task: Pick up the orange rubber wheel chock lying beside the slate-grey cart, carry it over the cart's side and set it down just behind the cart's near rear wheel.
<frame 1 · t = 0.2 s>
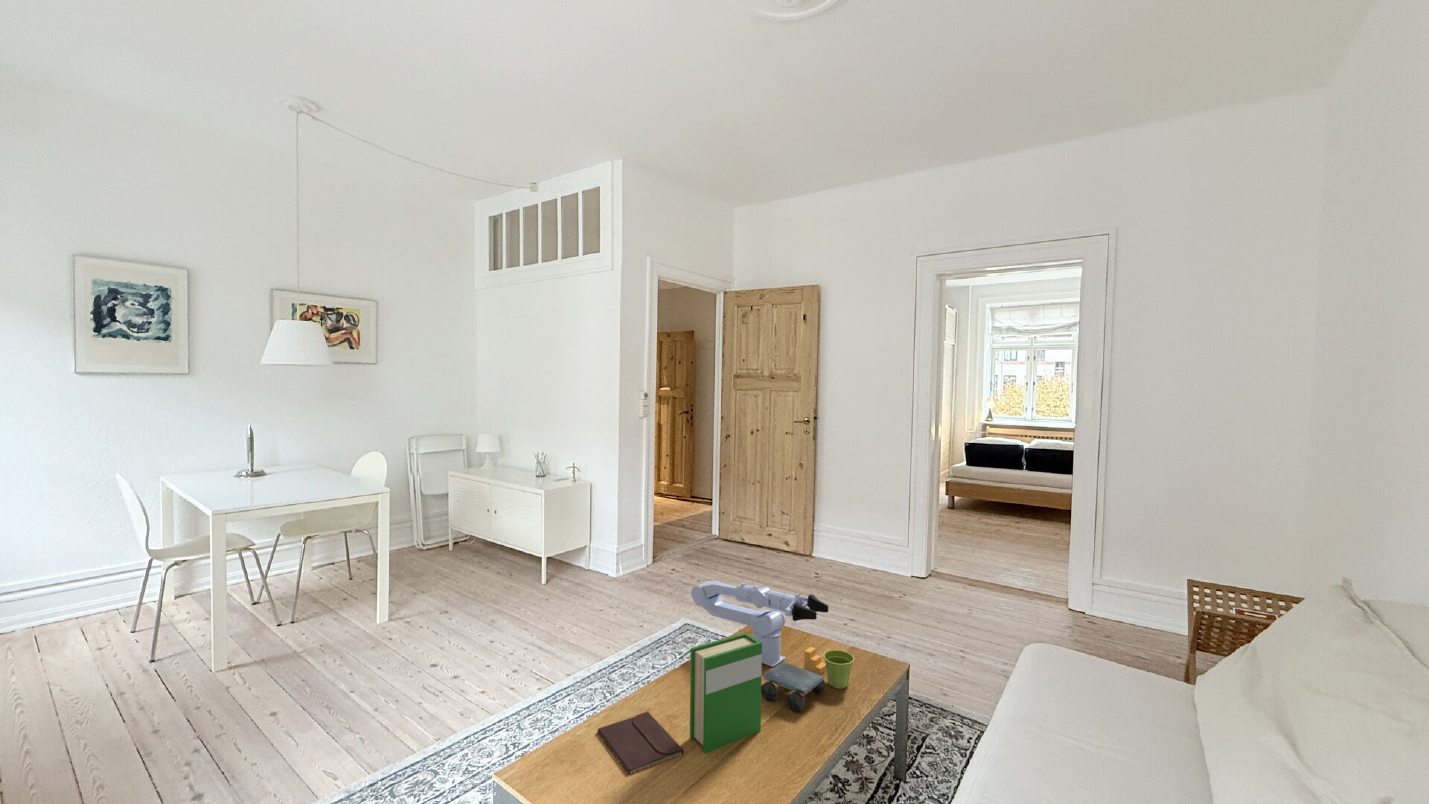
hand: (822, 612, 186), 21 cm above the table, tool horizontal, fingers open, 7 cm apart
notebook: (639, 745, 153), on the table
plant pot: (838, 684, 184), on the table
hardback book: (725, 735, 157), on the table
wheel chock: (815, 669, 193), on the table
trolley: (793, 696, 176), on the table
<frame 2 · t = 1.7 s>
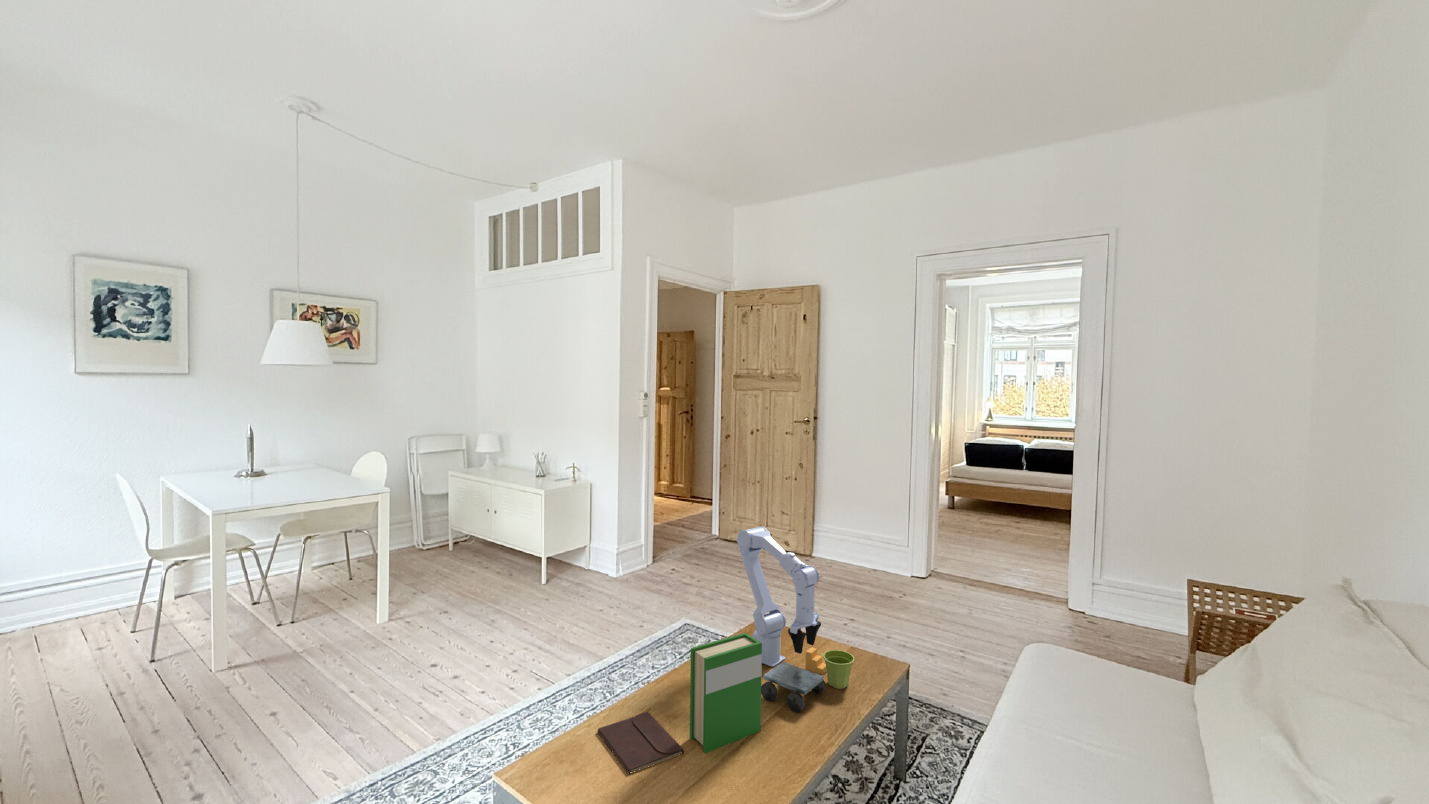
hand: (804, 648, 187), 9 cm above the table, tool pointing down, fingers open, 7 cm apart
nothing on the table moved.
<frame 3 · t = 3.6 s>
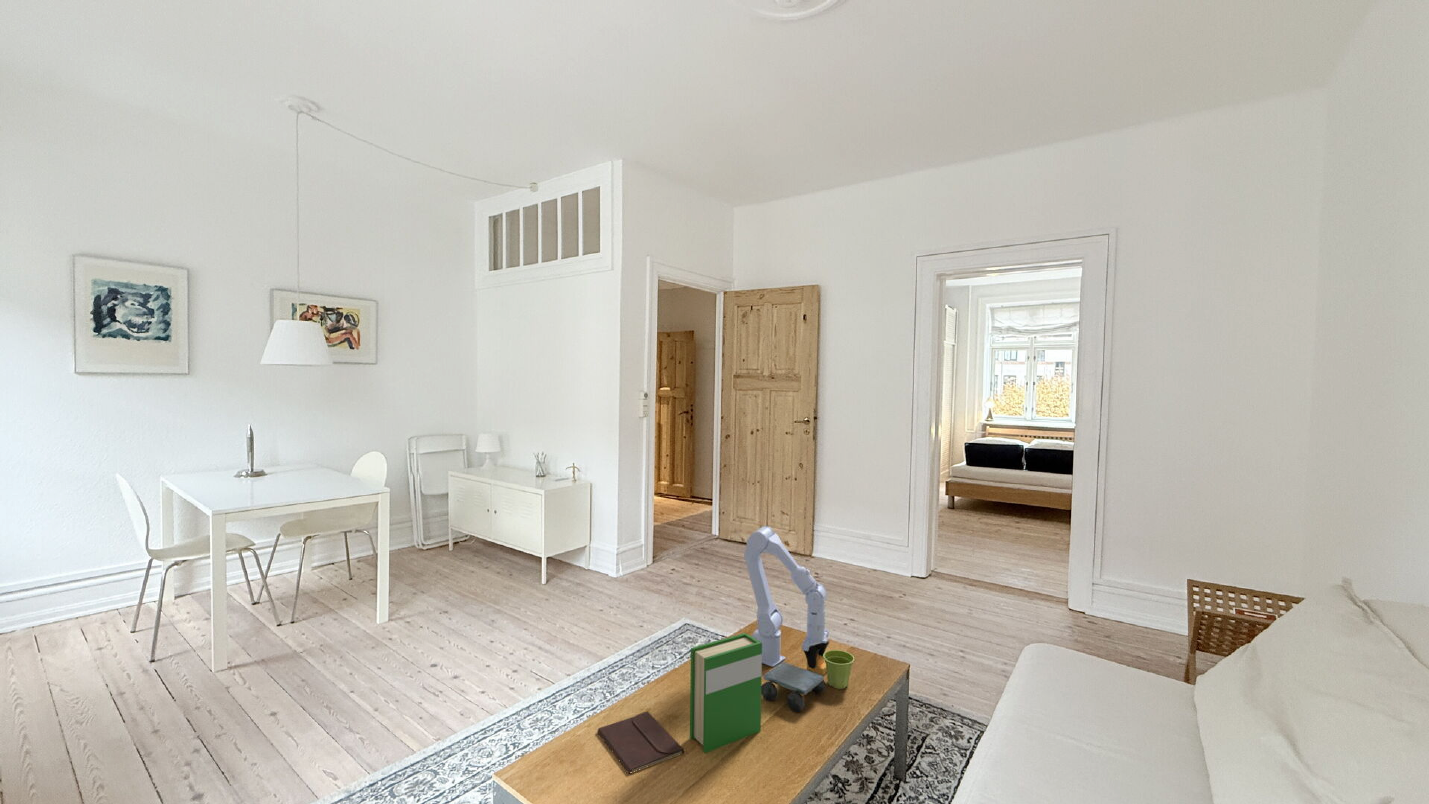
hand: (815, 664, 193), 1 cm above the table, tool pointing down, fingers closed on wheel chock, 4 cm apart
wheel chock: (817, 670, 192), on the table, touching gripper
everything else where it was.
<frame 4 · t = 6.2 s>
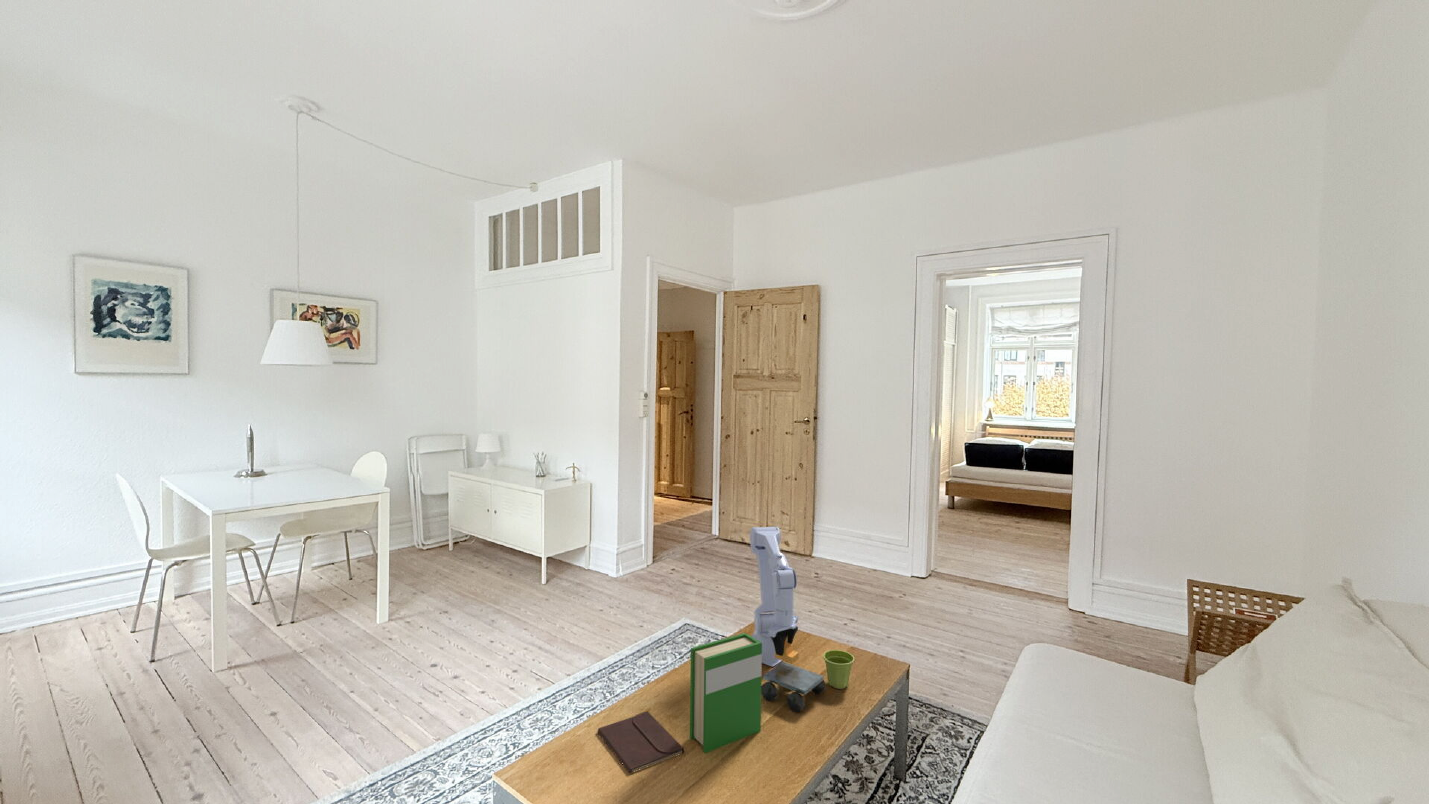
hand: (783, 652, 183), 10 cm above the table, tool pointing down, fingers closed on wheel chock, 4 cm apart
wheel chock: (786, 658, 182), point 8 cm above the table, touching gripper
everything else where it was.
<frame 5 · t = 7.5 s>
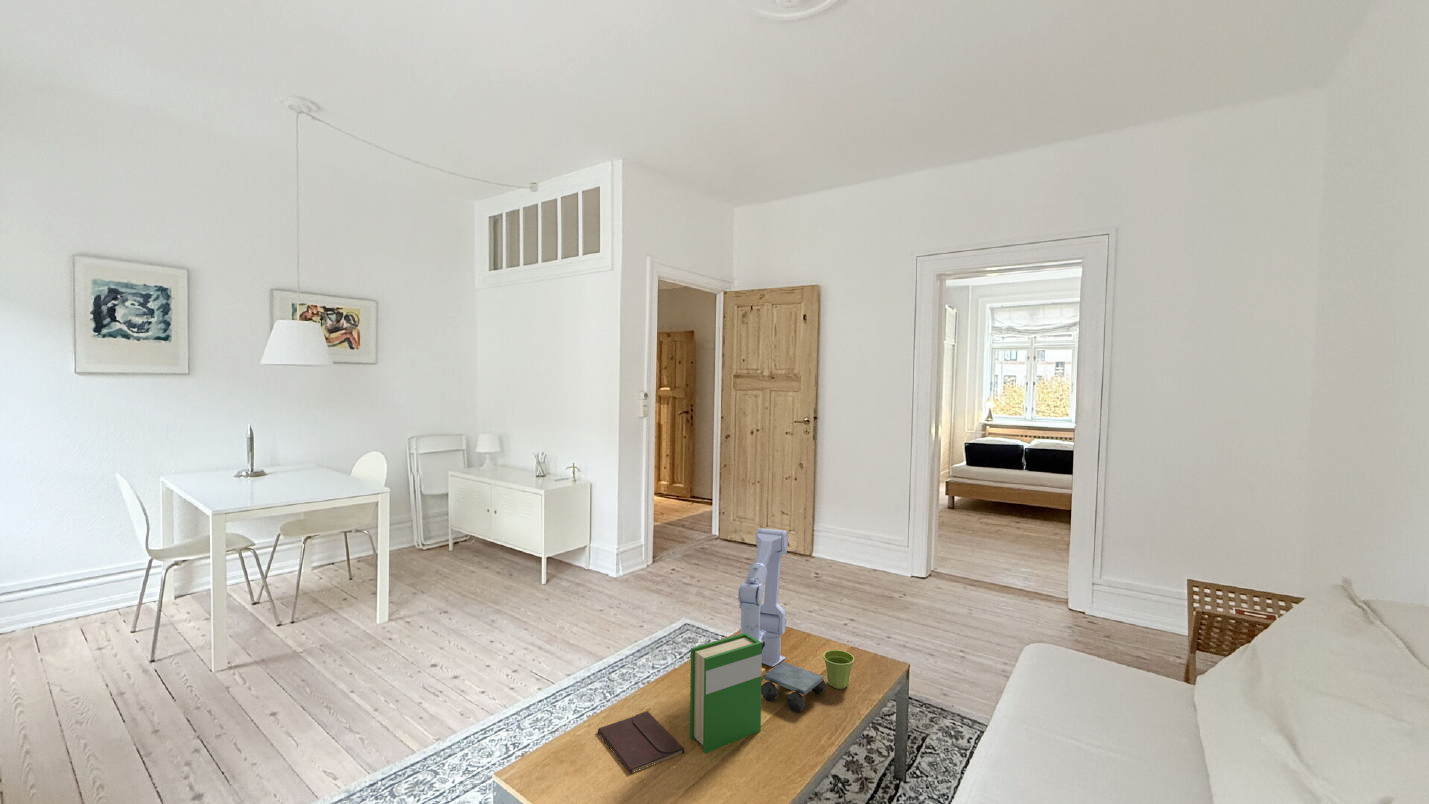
hand: (749, 668, 178), 7 cm above the table, tool pointing down, fingers closed on wheel chock, 4 cm apart
wheel chock: (753, 675, 177), point 6 cm above the table, touching gripper
everything else where it was.
when the fingers open (2 cm above the table, at t = 8.7 s): wheel chock stays where it is, on the table.
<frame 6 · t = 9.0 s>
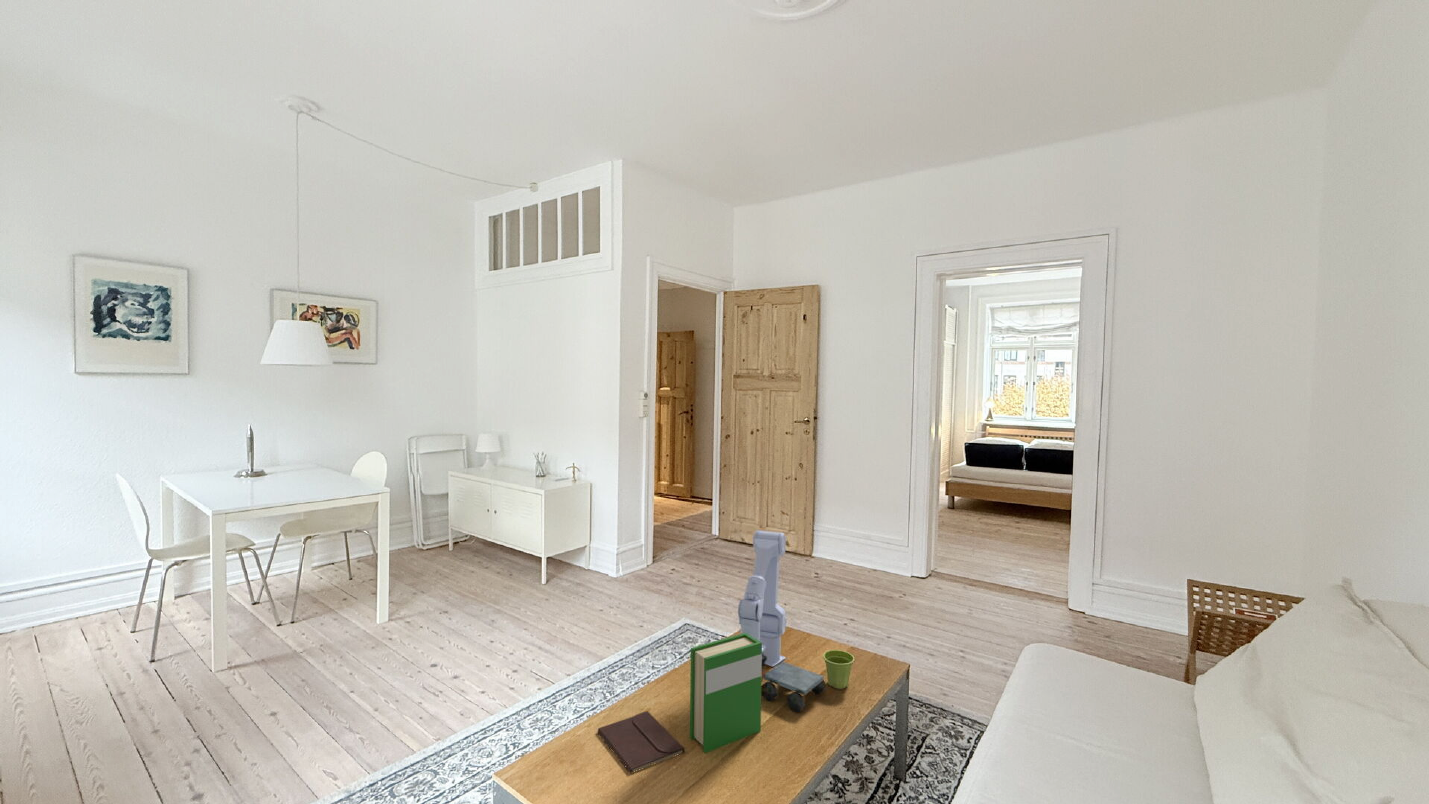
hand: (749, 683, 178), 2 cm above the table, tool pointing down, fingers open, 6 cm apart
wheel chock: (753, 693, 177), on the table
everything else where it was.
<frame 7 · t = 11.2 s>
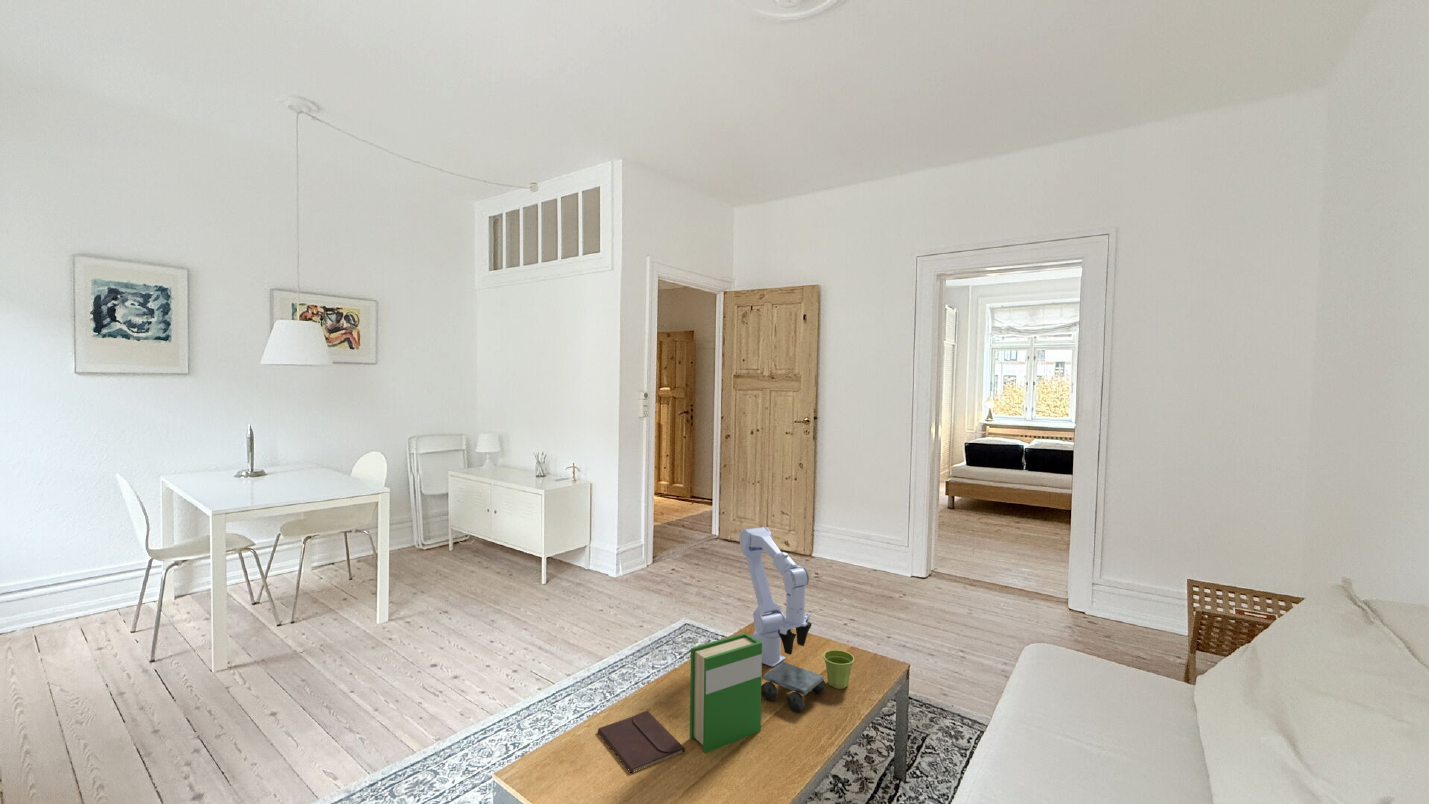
hand: (794, 649, 186), 9 cm above the table, tool pointing down, fingers open, 7 cm apart
nothing on the table moved.
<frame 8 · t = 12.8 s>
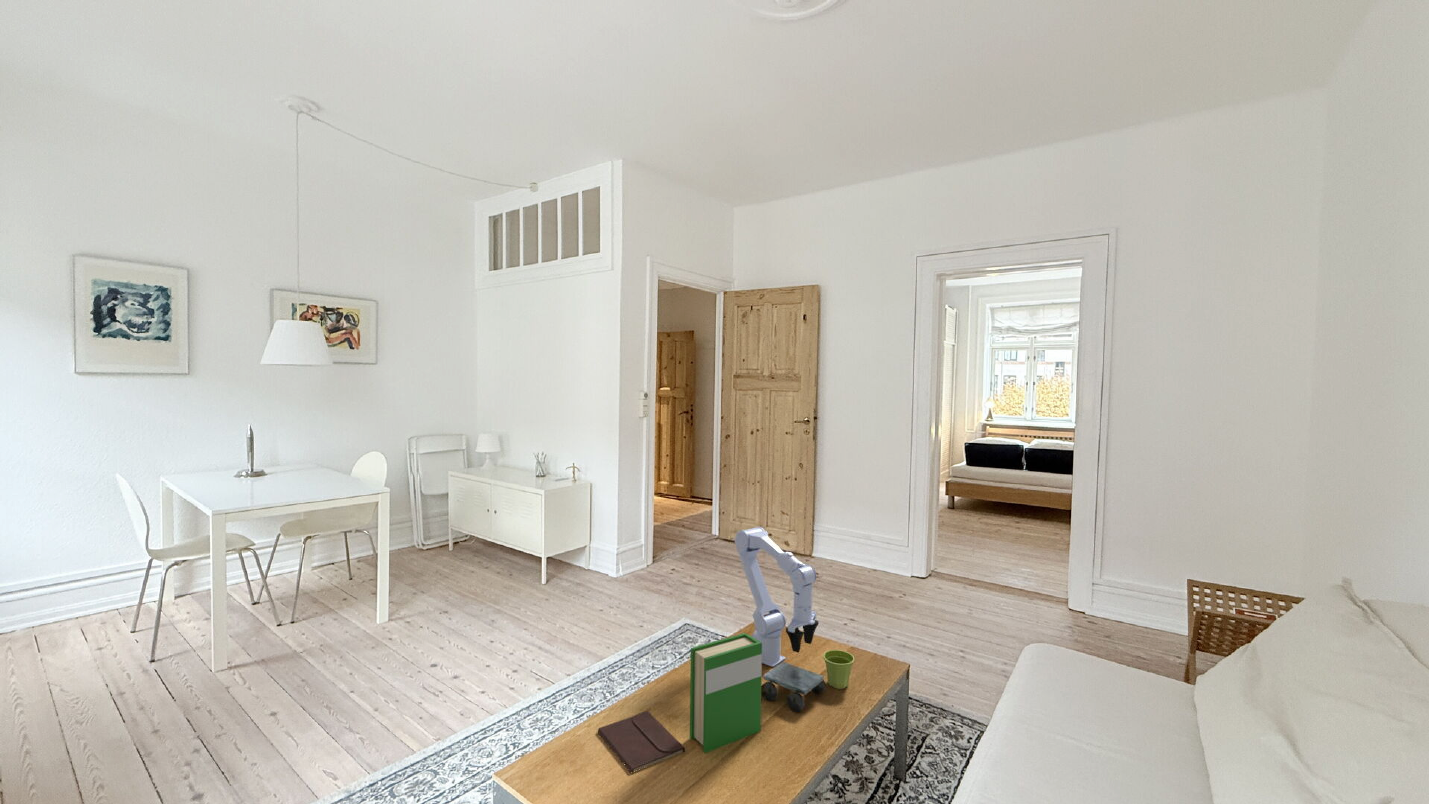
hand: (802, 647, 188), 9 cm above the table, tool pointing down, fingers open, 7 cm apart
nothing on the table moved.
at the end: wheel chock 1.6 cm from the target spot on the table beside the trolley, on the table; wheel chock tilted 0°; the gripper is holding nothing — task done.
